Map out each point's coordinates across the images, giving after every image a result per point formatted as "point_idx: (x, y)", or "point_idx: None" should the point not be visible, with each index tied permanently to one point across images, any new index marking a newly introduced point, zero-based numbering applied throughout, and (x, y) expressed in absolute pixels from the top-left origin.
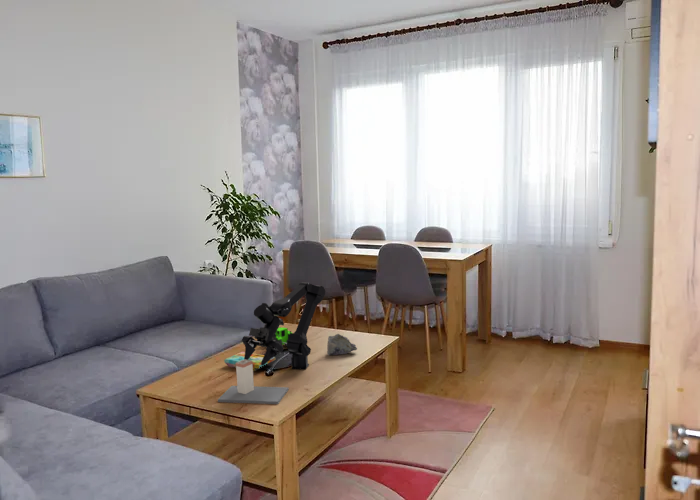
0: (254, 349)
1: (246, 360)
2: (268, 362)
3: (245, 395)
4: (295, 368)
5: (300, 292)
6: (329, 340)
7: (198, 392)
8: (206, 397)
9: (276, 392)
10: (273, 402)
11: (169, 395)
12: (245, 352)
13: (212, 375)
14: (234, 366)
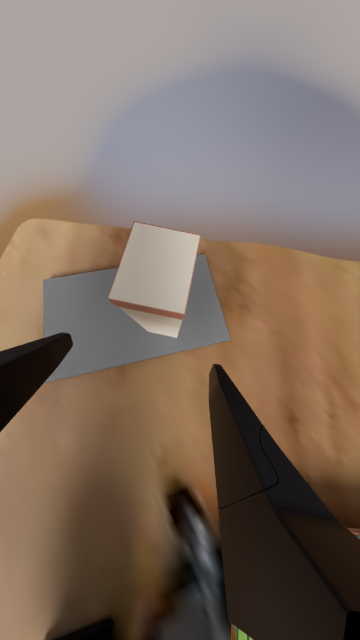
0: (231, 600)
1: (156, 292)
2: (232, 633)
3: None
4: (91, 632)
5: None
6: None
7: (286, 291)
8: (246, 272)
9: (70, 333)
10: (59, 279)
11: (331, 260)
12: (256, 422)
13: (354, 414)
14: (357, 529)
